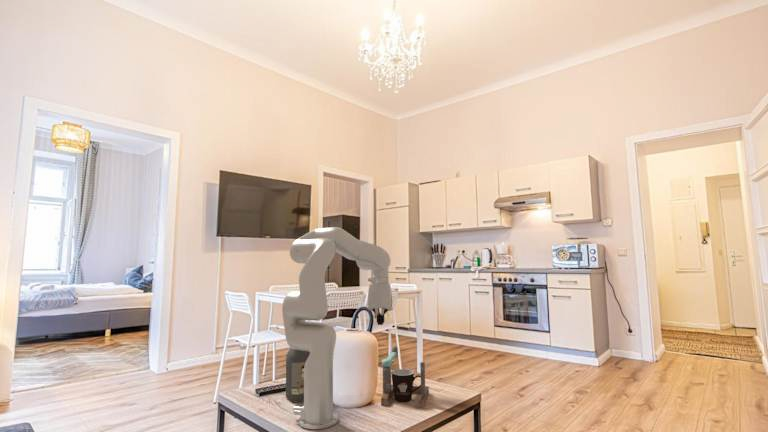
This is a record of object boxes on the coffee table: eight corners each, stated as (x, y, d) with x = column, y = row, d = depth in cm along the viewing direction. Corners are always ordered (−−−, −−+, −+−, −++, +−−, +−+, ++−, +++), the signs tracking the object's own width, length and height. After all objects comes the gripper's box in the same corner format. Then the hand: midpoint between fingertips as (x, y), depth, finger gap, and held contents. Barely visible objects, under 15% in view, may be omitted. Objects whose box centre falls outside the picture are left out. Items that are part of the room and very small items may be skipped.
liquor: (283, 397, 153) (284, 318, 156) (305, 392, 158) (305, 316, 161) (293, 404, 145) (294, 321, 149) (315, 398, 151) (316, 318, 154)
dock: (379, 405, 143) (378, 364, 144) (389, 390, 158) (388, 353, 160) (423, 408, 139) (422, 366, 141) (429, 393, 155) (428, 355, 156)
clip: (390, 368, 148) (390, 357, 149) (381, 368, 149) (380, 357, 150) (399, 356, 166) (399, 346, 167) (391, 356, 167) (391, 346, 168)
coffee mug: (387, 401, 146) (387, 373, 148) (397, 394, 154) (397, 368, 155) (416, 406, 141) (415, 377, 142) (425, 398, 149) (424, 371, 150)
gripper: (360, 281, 168) (361, 325, 166) (395, 281, 165) (396, 326, 163) (365, 280, 176) (366, 322, 174) (398, 280, 172) (399, 323, 170)
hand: (380, 324), depth 168 cm, fingers closed
